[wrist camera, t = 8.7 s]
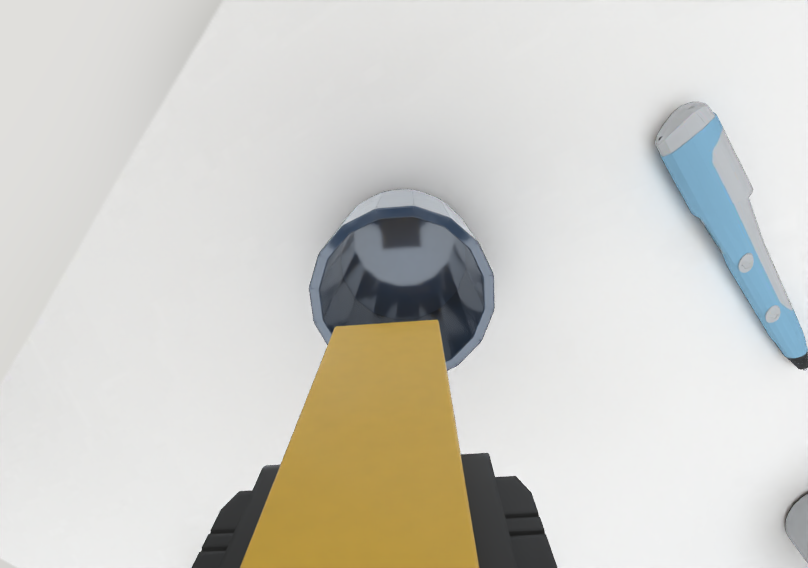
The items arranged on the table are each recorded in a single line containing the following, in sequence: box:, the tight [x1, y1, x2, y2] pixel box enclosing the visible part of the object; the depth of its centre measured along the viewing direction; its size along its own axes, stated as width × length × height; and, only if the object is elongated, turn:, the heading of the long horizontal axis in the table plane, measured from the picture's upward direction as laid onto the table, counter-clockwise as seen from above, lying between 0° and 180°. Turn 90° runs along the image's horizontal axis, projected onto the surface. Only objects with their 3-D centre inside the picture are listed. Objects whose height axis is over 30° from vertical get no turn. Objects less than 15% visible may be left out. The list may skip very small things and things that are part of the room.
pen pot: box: [309, 189, 495, 370], centre depth 26 cm, size 9×9×8 cm
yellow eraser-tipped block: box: [240, 320, 479, 568], centre depth 11 cm, size 4×4×11 cm
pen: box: [655, 102, 808, 371], centre depth 28 cm, size 19×3×3 cm, turn 36°
